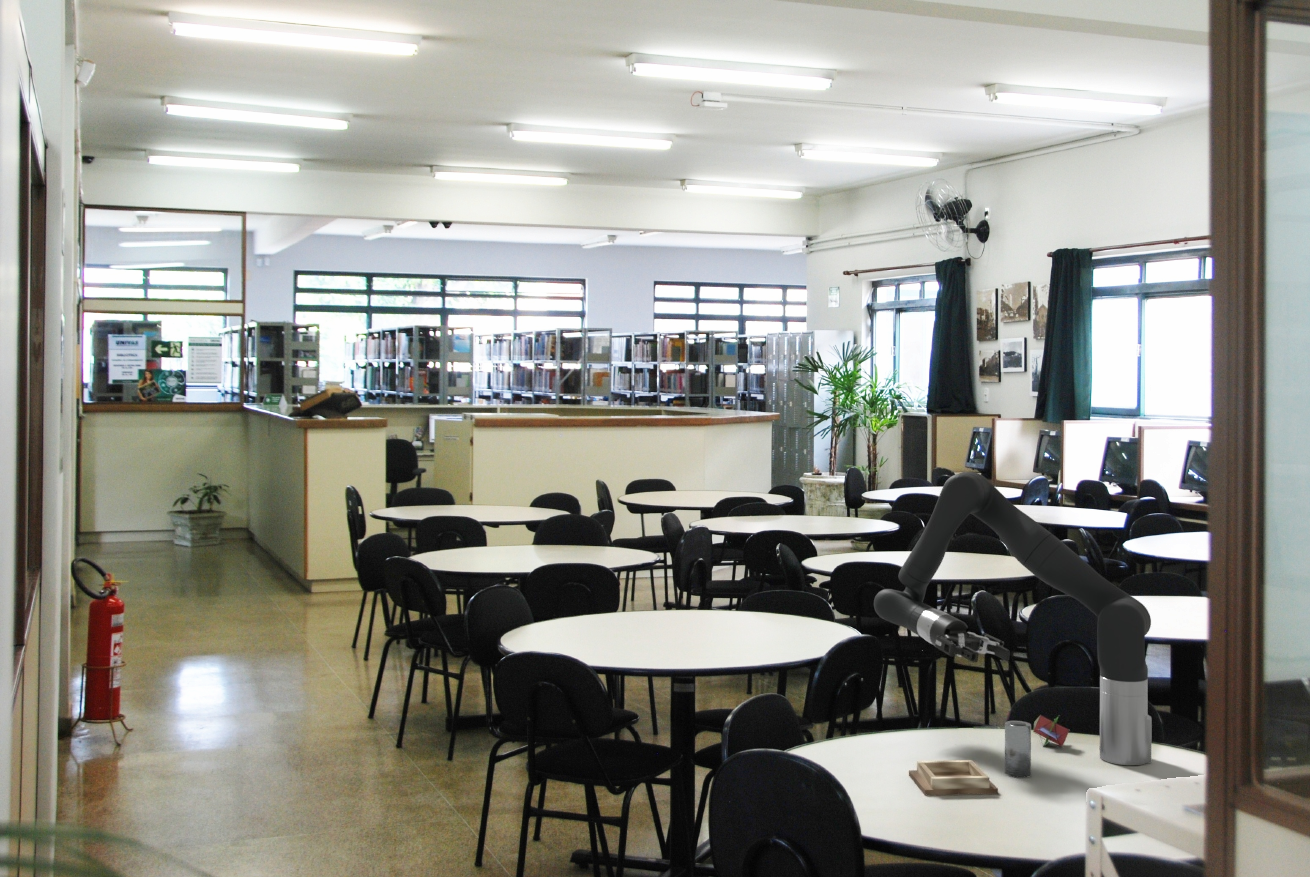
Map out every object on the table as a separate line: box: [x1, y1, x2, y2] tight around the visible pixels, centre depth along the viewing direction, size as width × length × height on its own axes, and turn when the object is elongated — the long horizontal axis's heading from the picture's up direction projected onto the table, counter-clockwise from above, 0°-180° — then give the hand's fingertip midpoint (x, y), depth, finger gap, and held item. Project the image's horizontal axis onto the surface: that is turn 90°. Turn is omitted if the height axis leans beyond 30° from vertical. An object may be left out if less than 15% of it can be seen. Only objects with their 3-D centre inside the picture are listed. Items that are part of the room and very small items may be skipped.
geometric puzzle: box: [1033, 714, 1071, 748], centre depth 255 cm, size 7×7×8 cm
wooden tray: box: [908, 759, 999, 796], centre depth 229 cm, size 14×12×3 cm
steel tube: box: [1004, 720, 1032, 779], centre depth 236 cm, size 5×5×10 cm
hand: (992, 657), depth 243 cm, fingers open, 8 cm apart
